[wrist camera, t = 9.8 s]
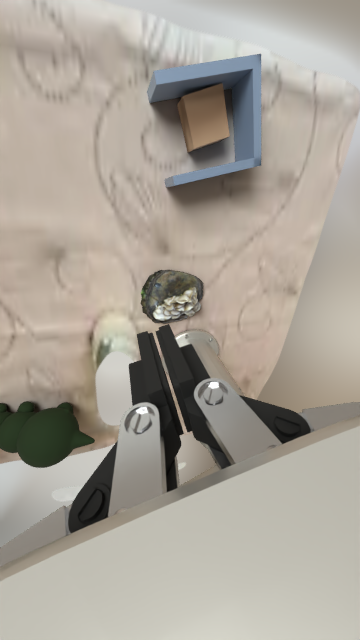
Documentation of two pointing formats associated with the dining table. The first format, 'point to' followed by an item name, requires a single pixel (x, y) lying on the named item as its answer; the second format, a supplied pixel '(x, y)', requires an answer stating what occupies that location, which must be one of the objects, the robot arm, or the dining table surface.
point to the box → (245, 101)
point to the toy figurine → (41, 433)
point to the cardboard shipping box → (203, 117)
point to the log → (171, 296)
